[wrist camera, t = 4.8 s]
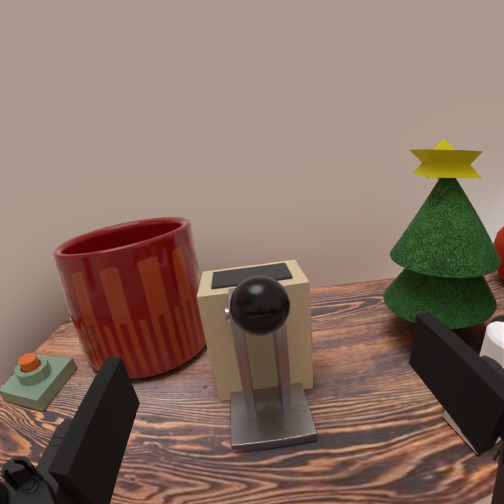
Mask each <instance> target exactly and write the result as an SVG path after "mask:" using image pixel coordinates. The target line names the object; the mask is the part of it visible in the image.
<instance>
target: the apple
mask: <svg viewBox="0 0 504 504" xmlns="http://www.w3.org/2000/svg"><path fill="white" fill-rule="evenodd" d="M494 247H495V249H496V251H497V253H498V255H499V257H500V259H501V265H500V267H499V268H498V269H497V270H498V274H499V275H500V277H501V278H502V279H503V281H504V227H503V228H502V229H501V230H500V231H499V232H498V233H497V236H496V238H495V241H494Z"/></svg>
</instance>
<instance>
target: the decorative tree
mask: <svg viewBox="0 0 504 504" xmlns="http://www.w3.org/2000/svg"><path fill="white" fill-rule="evenodd" d="M410 151H411V152H412V153H413V154H414V155H415V156H416V157H417V158H418V159H419V160H420V161H421V162H422V164H421V165H420V166H419V167H418V168H417V169H416V170H415V171H414V173H413V174H417V175H420V176H424V177H427V178H438V182H437V184H436V185H435V187H434V188H433V190H432V191H431V193H430V195H429V196H428V198H427V199H426V201H425V202H424V204H423V205H422V207H421V208H420V210H419V211H418V213H417V214H416V216H415V218H414V219H413V220H412V222H411V223H410V225H409V226H408V228H407V229H406V230H405V232H404V233H403V235H402V236H401V238H400V239H399V240H398V242H397V243H396V245H395V246H394V247H393V249H392V250H391V252H390V257H391V259H392V260H393V261H394V262H395V263H397V264H398V265H400V266H402V267H404V268H405V269H404V270H403V271H402V272H401V273H400V275H399V276H398V277H397V278H396V279H395V280H394V281H393V282H392V284H391V285H390V286H389V287H388V288H387V289H386V291H385V293H384V301H385V303H386V305H387V306H388V308H389V309H390V310H391V311H393V312H394V313H395V314H397V315H398V316H400V317H402V318H404V319H406V320H408V321H411V322H413V323H415V319H416V315H418V314H422V313H426V312H430V313H432V314H433V315H434V316H435V317H436V318H437V319H439V320H440V321H441V322H442V323H443V324H444V325H446V326H447V327H448V328H449V329H450V330H451V331H452V332H454V333H455V334H456V329H457V328H465V327H470V326H474V325H477V324H480V323H482V322H484V321H486V320H487V319H489V318H490V317H491V316H492V315H493V314H494V312H495V310H496V300H495V298H494V296H493V294H492V292H491V290H490V288H489V286H488V284H487V282H486V280H485V278H484V277H483V275H487V274H490V273H492V272H494V271H496V270H497V269H498V268H499V267H500V265H501V259H500V257H499V255H498V253H497V251H496V249H495V247H494V245H493V243H492V241H491V239H490V237H489V235H488V233H487V231H486V229H485V227H484V225H483V224H482V222H481V220H480V218H479V216H478V215H477V213H476V211H475V209H474V208H473V206H472V204H471V202H470V201H469V199H468V198H467V196H466V194H465V192H464V191H463V189H462V188H461V186H460V184H459V183H458V181H457V180H456V178H481V177H480V175H479V174H478V173H477V172H476V171H475V170H474V169H473V168H472V167H471V166H470V164H471V163H472V162H473V161H474V160H475V159H476V158H477V157H478V156H479V155H480V154H481V153H482V151H464V150H455V149H454V148H453V147H452V146H451V145H450V144H449V143H448V142H447V141H446V140H445V139H444V138H443V139H442V140H441V142H440V143H439V144H438V145H437V146H436V147H435V149H434V150H426V149H425V150H410Z"/></svg>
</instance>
